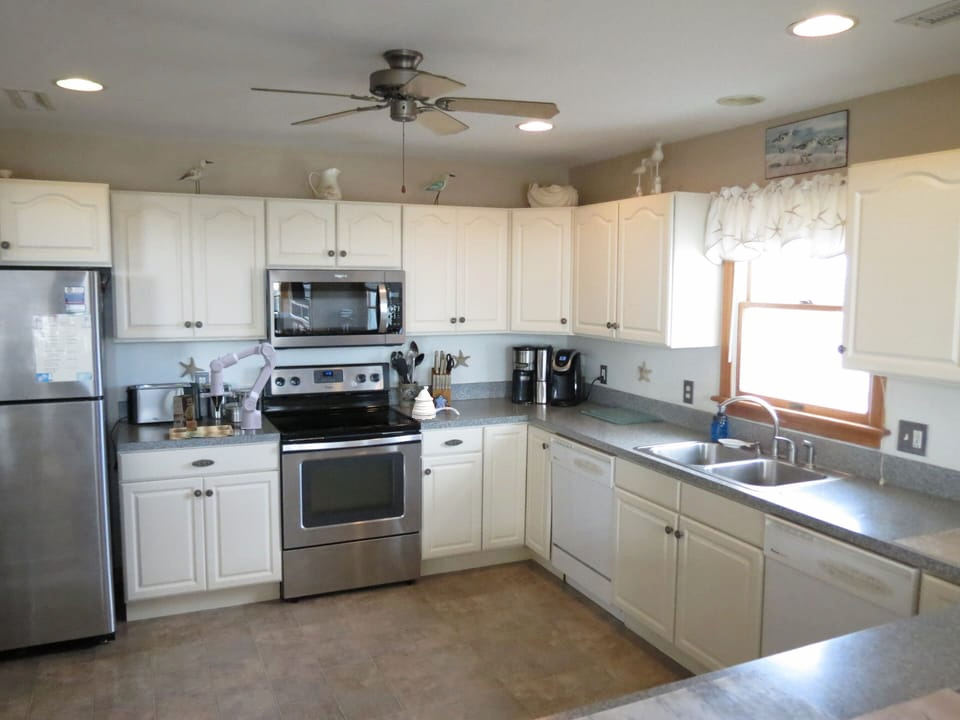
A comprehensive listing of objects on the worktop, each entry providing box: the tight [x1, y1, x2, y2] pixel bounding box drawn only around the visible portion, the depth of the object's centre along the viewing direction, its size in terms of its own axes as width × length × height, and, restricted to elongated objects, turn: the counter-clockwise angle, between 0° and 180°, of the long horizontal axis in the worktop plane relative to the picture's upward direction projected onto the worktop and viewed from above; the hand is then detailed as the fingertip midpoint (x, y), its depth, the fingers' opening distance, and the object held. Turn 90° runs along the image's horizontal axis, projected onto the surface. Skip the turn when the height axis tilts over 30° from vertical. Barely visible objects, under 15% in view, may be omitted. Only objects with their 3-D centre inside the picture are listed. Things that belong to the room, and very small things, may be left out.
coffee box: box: [172, 394, 196, 428], centre depth 369 cm, size 9×6×16 cm
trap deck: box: [168, 424, 234, 441], centre depth 354 cm, size 28×14×2 cm, turn 113°
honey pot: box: [411, 385, 437, 420], centre depth 401 cm, size 13×13×18 cm
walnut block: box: [186, 420, 198, 431], centre depth 352 cm, size 4×4×4 cm
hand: (217, 411), depth 364 cm, fingers closed
